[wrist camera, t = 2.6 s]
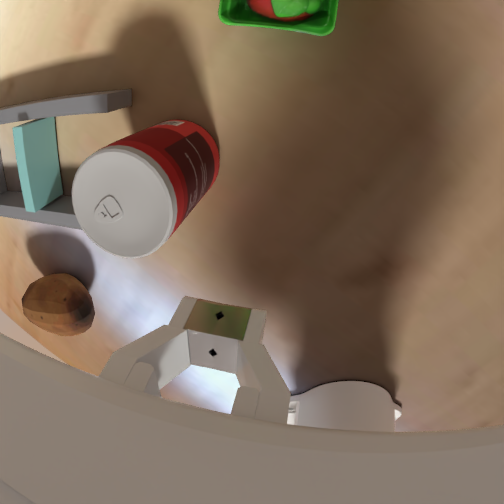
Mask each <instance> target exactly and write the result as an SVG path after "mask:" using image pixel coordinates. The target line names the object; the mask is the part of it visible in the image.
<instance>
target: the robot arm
mask: <svg viewBox="0 0 504 504" xmlns="http://www.w3.org/2000/svg"><path fill="white" fill-rule="evenodd" d="M266 312H267V311H266V310H260V309H253V308H246V307H240V306H234V305H228V304H222V303H217V302H213V301H208V300H203V299H197V298H193V297H188V296H185V297H184V298H182V300H181V302H180V304H179V306H178V308H177V310H176V312H175V313H174V315H173V317H172V319H171V321H170V323H169V325H163V326H161V327H159V328H158V329H156V330H154V331H152V332H150V333H148V334H146V335H145V336H143V337H141V338H139V339H137V340H135V341H133V342H132V343H130V344H128V345H126V346H124V347H122V348H120V349H118V350H117V351H115V352H113V354H112V355H111V357H110V359H109V360H108V362H107V364H106V365H105V367H104V369H103V370H102V372H101V374H100V375H99V377H98V376H95V375H92V374H90V373H87V372H85V371H82V370H79V369H77V368H74V367H72V366H70V365H67V364H65V363H62V362H60V361H57V360H55V359H53V358H51V357H49V356H46V355H44V354H42V353H40V352H38V351H36V350H33V349H31V348H29V347H27V346H25V345H23V344H21V343H19V342H17V341H15V340H13V339H11V338H9V337H7V336H5V335H3V334H2V333H0V504H504V425H497V426H489V427H481V428H471V429H460V430H446V431H424V432H395V420H396V419H397V418H399V417H400V416H401V414H402V409H401V407H400V406H398V405H397V404H395V403H394V402H393V401H392V399H391V396H390V394H389V393H388V392H387V391H386V390H385V389H383V388H382V387H380V386H378V385H375V384H372V383H367V382H361V381H340V382H333V383H328V384H324V385H321V386H318V387H315V388H313V389H311V390H309V391H307V392H305V393H303V394H300V395H294V396H291V392H290V391H289V389H288V387H287V385H286V384H285V382H284V380H283V378H282V377H281V375H280V373H279V371H278V370H277V368H276V366H275V364H274V363H273V361H272V359H271V357H270V355H269V354H268V352H267V350H266V348H265V346H264V345H262V340H263V334H264V327H265V320H266ZM190 364H192V365H197V366H202V367H207V368H212V369H217V370H221V371H225V372H230V373H234V374H236V376H237V379H238V381H239V384H240V386H241V387H240V388H238V390H237V394H236V397H235V401H234V404H233V408H232V411H231V414H226V413H222V412H217V411H212V410H208V409H204V408H199V407H195V406H191V405H187V404H183V403H180V402H176V401H172V400H169V399H165V398H162V397H161V394H160V389H161V388H162V387H163V386H165V385H166V384H167V383H169V382H170V381H171V380H173V379H174V378H175V377H176V376H178V375H179V374H180V373H182V372H183V371H184V370H185V369H187V368H188V367H189V366H190Z"/></svg>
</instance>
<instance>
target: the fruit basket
mask: <svg viewBox="0 0 504 504" xmlns="http://www.w3.org/2000/svg"><path fill="white" fill-rule="evenodd" d="M338 2H339V0H220V5H219V11H218V16H219V19H220V20H221V21H222V22H223V23H224V24H227V25H236V26H254V27H265V28H274V29H282V30H289V31H295V32H301V33H307V34H312V35H317V36H325V35H328V34H330V33H331V32H332V31H333V30H334V28H335V23H336V16H337V8H338Z"/></svg>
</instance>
